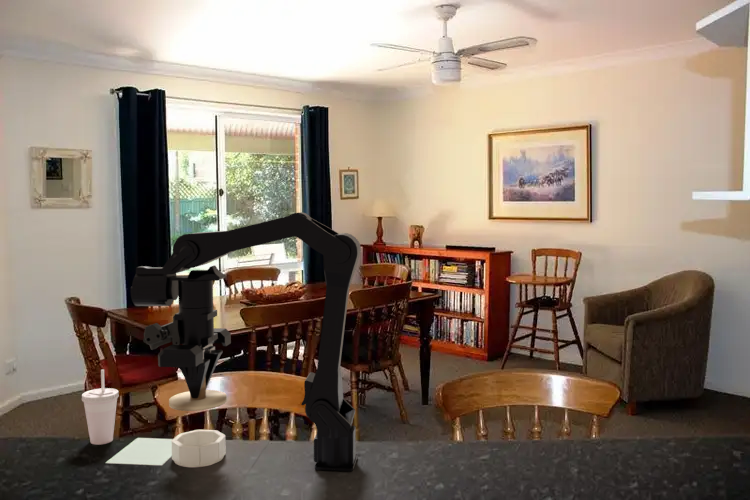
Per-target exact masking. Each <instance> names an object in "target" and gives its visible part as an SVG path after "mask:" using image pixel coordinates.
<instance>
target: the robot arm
mask: <svg viewBox="0 0 750 500" xmlns="http://www.w3.org/2000/svg"><path fill="white" fill-rule="evenodd" d="M293 237H296V238H297V239H299V240H301V241H302V242H303V243H305V244H306V245H307V246H309V247H310V248H312V250H314V251H316V252H317V253H319V254H321V255H322V260H323V261H322V263H323V264H322V265H323V272H324V280H325V289H326V290H325V298H324V305H323V314H322V321H321V322H322V324H321V330H320V331H321V332H320V342H319V351H318V358H317V366H316V367H317V368H316V371H315V372H309V373H308V375H307V377H306V378H305V380H304V388H303V389H304V397H303V401H302V402H301V406H305V407H304V413H305V415H306V417H307V418H308V419H309V420H310V422H312V423H313V424H314V425H315V428H316V434H315V436H314V437H313V462H314V463H315V465H314V470H317V471H318V470H319V471H341V472H352V471H354V470H355V469H354V468H355V465H356V463H357V459H358V454H356V445H357V443H356V442H357V441H356V433H357V431H356V425H352V424H353V421H354V417H355V414H356V409H355V407H353V406H352V405H351V404H350V403H349V402H348V401H347V400H346V399H345V398H344V390H343V388H344V387H343V378H342V377H343V376H342V370H341V361H342V354H343V353H342V352H343V345H344V335H345V326H346V318H347V310H348V302H349V291H350V287H351V284H352V281H353V279H354V275H355V273H356V270H357V266H358V263H359V259H360V256H361V251H362V248H361V244H360V242H359V240H358V239H357V238H356V236H354V235H353V234H351V233H347V232H342V233H341V232H340V233H339V232H337V231H335V230H334V229H332V228H330V227H328V226H327V225H325V224H323V223H321V222H319V221H317V220H316V219H314V218H312V217H311V216H310V215H309V214H307V213H306V212H303V211H302V212H293V213H291V214H289V215H287V216H286V215H285V216H283V217H278V218H274V219H270V220H266V221H262V222H258V223H254V224H250V225H245V226H241V227H238V228H234V229H231V230H218V231H202V232H201V231H200V232H199V231H198V232H193V233H185V234H181V235H180V236H178V237H177V238H176V240H175V242H174V244H173V248H172V254H171V255H170V256H169V258H168V259H167V261H166V262H165V263H164V265H163V266H162V267H161V266H158V267H154V266H153V267H152V266H147V265H145V266H143V265H141V266H136V268H135V275H134V277H133V279H132V284H131V285H132V286H131V287H130V298H131V301H132V303H133V305H134V306H135V307H169V306H172V304H173V302H174V301H177V300H178V312H176V313H174V315H173V316H172V322H169V323H166V324H164V325H160V324H159V323H158V322H155V323H153V324H149V325H147V326H145V327H144V333H142V334H143V338H142V341H143V343H145V344H146V345H149V347H150V350H152V351H153V350H156V349H157V348H158V347H160V346H163V345H166V344H169V343H172V344H171V345H169V346H167V347H165V348H163V349H162V350H161V351H160V352H159V353H158V354H157V365H158V367H159V368H178V369H179V370H180V371H181V372H182V375H183V377H184V379H185V382H186V383H185V384H186V385H187V389H188V391H190V394H191V397H192V398H198V397H199V395H200V392H201V389H202V385H203V382H204V379H205V378H206V389H207V388H208V386H209V384H210V382H211V379H212V376H213V373H214V371H215V369H216V367H217V364H218V362H219V359H220V357H221V355H222V354H223V350H222V349H216V346H214V345H213V344H221V345H222V347H227V346H229V345H231V343H232V340H231V339H232V337H231V336H232V333H231V332H230V331H229V330H228V329H227V328H216V327H215V326H214V325H215V324H214V322H215V321H214V319H215V318H216V317H218V309H214V286H213V285H214V284H213V281H220V280H223V279H225V278H226V275H225V273H223V272H221V270H219V269H218V267H217V265H211V266H209V268H208V269H195V268H196V267H197V268H198V267H201V266H204V265H207V264H209V263H212V262H214V261H216V260H218V259H220V258H223V257H225V256H227V255H229V254H231V253H234V252H236V251H239V250H244V249H248V248H251V247H256V246H260V245H264V244H269V243H272V242H276V241H281V240H285V239H289V238H293ZM192 268H193V269H192ZM190 269H192V270H190ZM189 270H190V271H189ZM185 271H189V273H188V275H177V274H179V273H182V272H185Z"/></svg>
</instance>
